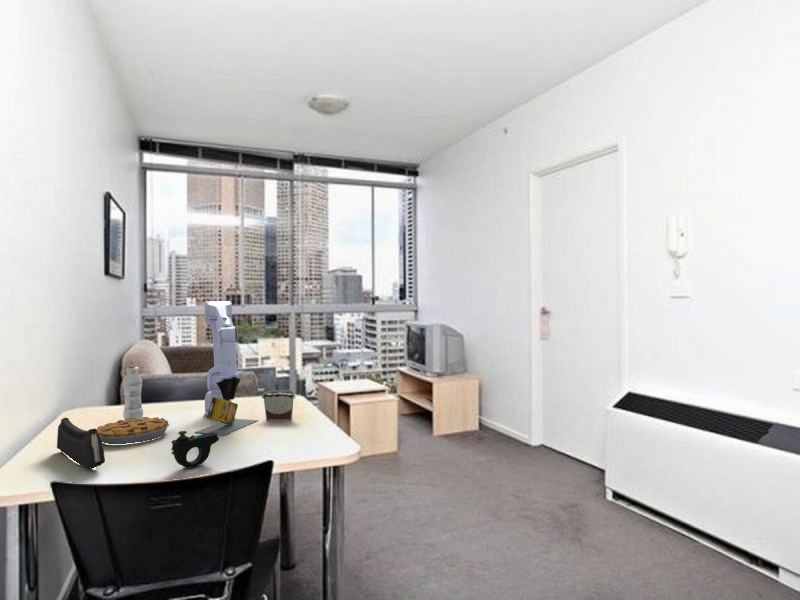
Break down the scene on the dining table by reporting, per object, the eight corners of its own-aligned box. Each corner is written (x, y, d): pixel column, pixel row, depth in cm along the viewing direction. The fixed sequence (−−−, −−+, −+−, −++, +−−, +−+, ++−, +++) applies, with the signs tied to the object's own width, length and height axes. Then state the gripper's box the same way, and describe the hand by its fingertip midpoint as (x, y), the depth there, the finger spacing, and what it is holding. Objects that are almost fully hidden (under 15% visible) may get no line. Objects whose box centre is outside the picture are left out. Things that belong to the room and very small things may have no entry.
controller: (169, 470, 133) (168, 432, 133) (214, 458, 142) (213, 423, 142) (176, 473, 130) (175, 435, 130) (221, 461, 139) (220, 425, 139)
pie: (155, 425, 181) (155, 411, 181) (179, 437, 165) (179, 421, 165) (86, 438, 165) (85, 423, 165) (104, 452, 150) (104, 436, 150)
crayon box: (233, 424, 177) (212, 419, 167) (226, 424, 178) (205, 418, 168) (238, 404, 180) (218, 397, 170) (231, 403, 181) (211, 396, 171)
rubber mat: (194, 433, 169) (194, 432, 169) (229, 419, 187) (229, 418, 187) (224, 435, 165) (224, 434, 165) (257, 421, 183) (257, 420, 183)
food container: (300, 416, 189) (299, 389, 189) (295, 420, 183) (294, 393, 183) (268, 416, 191) (267, 389, 190) (262, 420, 185) (261, 393, 184)
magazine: (53, 421, 152) (84, 405, 133) (66, 419, 154) (98, 403, 135) (60, 479, 149) (92, 471, 130) (72, 475, 151) (106, 467, 132)
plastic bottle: (119, 422, 185) (117, 368, 184) (135, 418, 191) (133, 365, 191) (131, 424, 182) (130, 369, 182) (147, 419, 188) (146, 366, 188)
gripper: (224, 364, 168) (225, 404, 168) (249, 359, 182) (250, 396, 182) (206, 363, 171) (207, 403, 170) (233, 358, 184) (234, 395, 184)
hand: (228, 400), depth 176 cm, fingers closed
